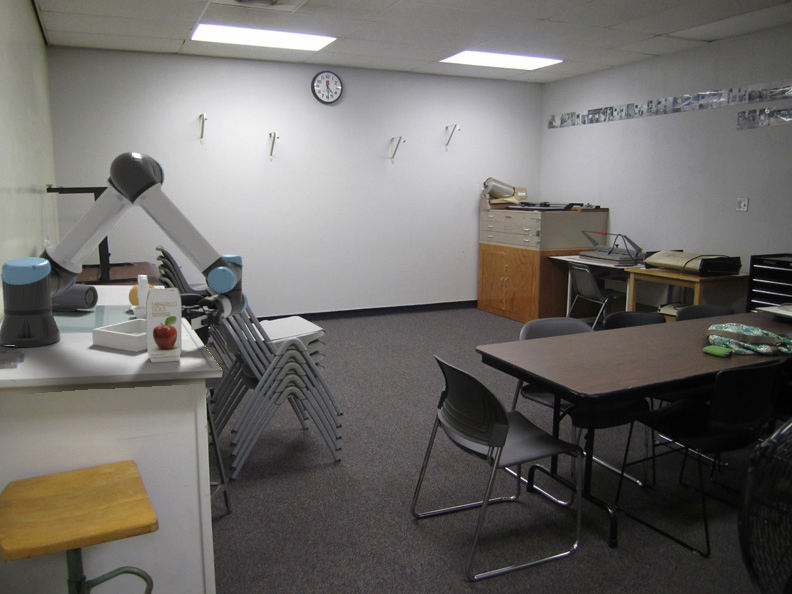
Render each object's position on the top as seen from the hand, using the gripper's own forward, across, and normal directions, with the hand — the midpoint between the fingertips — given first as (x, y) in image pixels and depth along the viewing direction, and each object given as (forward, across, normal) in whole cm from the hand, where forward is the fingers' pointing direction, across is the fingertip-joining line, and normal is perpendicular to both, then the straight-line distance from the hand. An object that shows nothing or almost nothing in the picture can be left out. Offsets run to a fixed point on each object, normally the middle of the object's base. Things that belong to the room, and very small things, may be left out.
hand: (169, 322), depth 161 cm
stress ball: (-52, +48, -10) cm, 71 cm away
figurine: (-40, +39, -10) cm, 57 cm away
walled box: (-11, +18, -10) cm, 24 cm away
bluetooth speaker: (-38, +71, -10) cm, 81 cm away
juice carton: (+2, +1, -10) cm, 10 cm away
